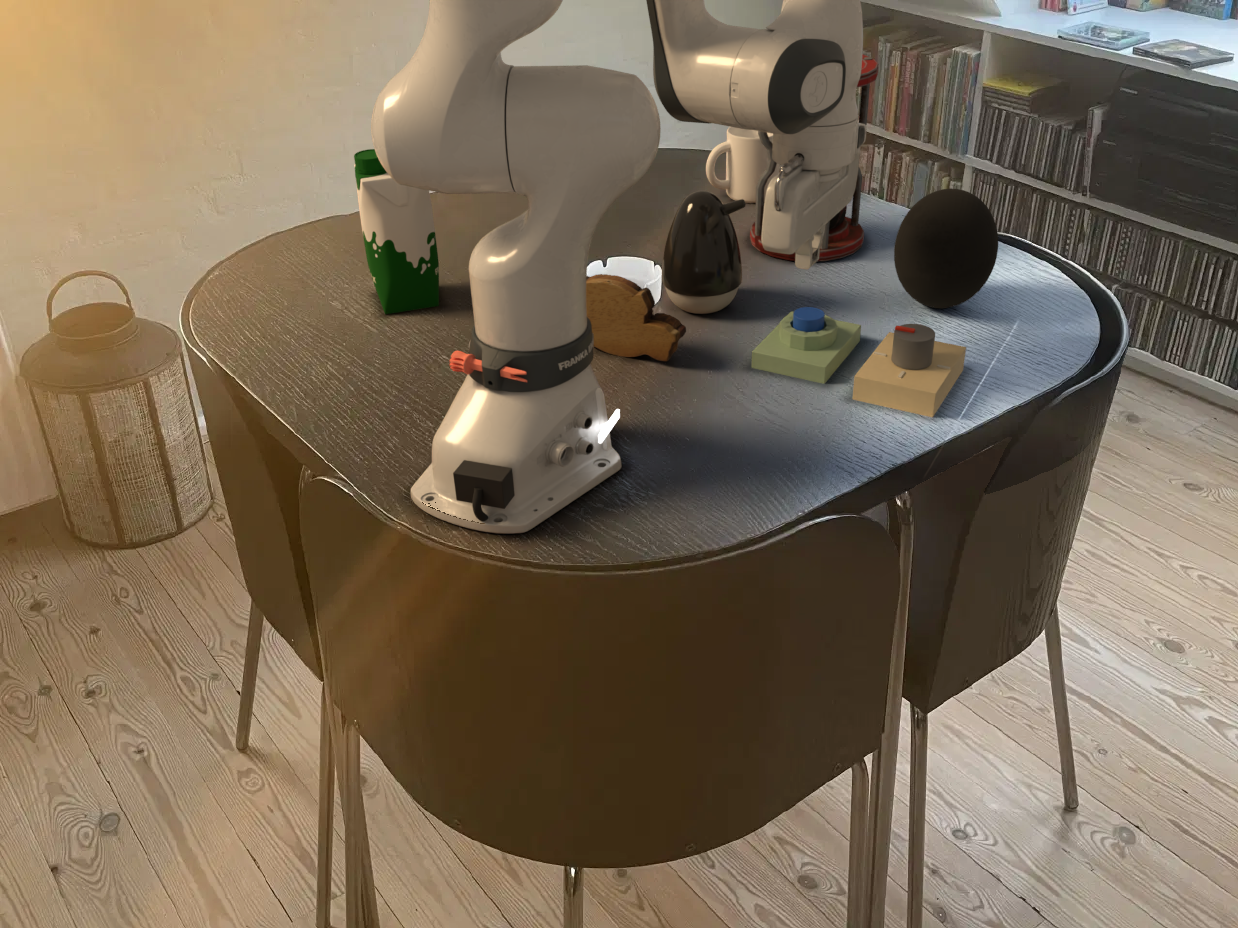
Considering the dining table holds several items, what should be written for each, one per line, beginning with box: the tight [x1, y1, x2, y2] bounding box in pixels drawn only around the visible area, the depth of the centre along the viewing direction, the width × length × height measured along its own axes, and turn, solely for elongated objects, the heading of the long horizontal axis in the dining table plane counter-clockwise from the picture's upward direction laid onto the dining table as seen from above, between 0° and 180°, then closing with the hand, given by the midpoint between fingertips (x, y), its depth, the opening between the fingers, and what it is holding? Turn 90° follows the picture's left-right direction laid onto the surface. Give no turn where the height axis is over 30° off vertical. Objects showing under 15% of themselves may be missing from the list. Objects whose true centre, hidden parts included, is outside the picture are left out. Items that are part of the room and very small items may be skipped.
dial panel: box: [852, 331, 967, 418], centre depth 131 cm, size 12×9×3 cm
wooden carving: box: [586, 273, 687, 362], centre depth 138 cm, size 16×5×10 cm, turn 64°
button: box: [793, 306, 826, 332], centre depth 137 cm, size 4×4×2 cm
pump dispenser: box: [661, 190, 747, 315], centre depth 147 cm, size 10×10×15 cm
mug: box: [705, 126, 781, 204], centre depth 182 cm, size 12×8×10 cm
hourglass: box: [749, 53, 879, 262], centre depth 162 cm, size 16×16×25 cm
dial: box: [891, 323, 936, 370], centre depth 129 cm, size 4×4×4 cm
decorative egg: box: [893, 188, 999, 309], centre depth 145 cm, size 12×12×15 cm
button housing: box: [751, 311, 862, 385], centre depth 138 cm, size 12×9×4 cm
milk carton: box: [353, 148, 440, 315], centre depth 150 cm, size 9×9×20 cm
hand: (806, 265), depth 133 cm, fingers closed
